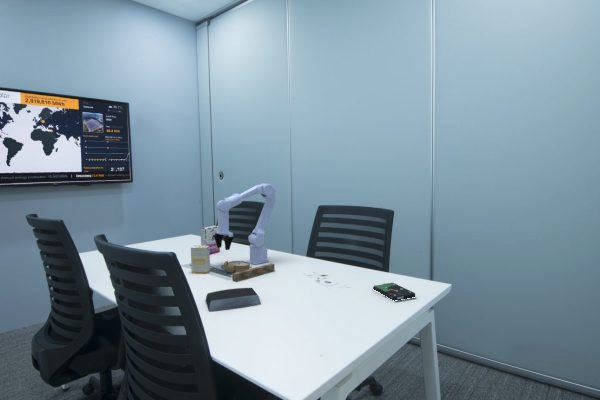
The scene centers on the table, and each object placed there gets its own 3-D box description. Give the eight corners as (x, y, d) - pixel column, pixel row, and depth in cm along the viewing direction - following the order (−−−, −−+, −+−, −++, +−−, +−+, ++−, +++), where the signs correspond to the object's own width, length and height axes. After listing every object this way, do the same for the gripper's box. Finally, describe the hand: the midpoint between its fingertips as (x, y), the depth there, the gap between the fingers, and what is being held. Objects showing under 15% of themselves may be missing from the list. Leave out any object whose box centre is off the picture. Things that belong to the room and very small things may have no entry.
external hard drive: (261, 306, 135) (261, 295, 135) (209, 313, 129) (208, 302, 128) (253, 295, 148) (253, 285, 147) (205, 301, 141) (204, 291, 140)
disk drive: (415, 300, 142) (392, 288, 155) (416, 293, 141) (392, 281, 155) (394, 303, 138) (372, 291, 151) (394, 296, 137) (372, 284, 151)
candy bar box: (214, 251, 227) (213, 225, 225) (220, 252, 224) (219, 226, 223) (200, 254, 217) (200, 227, 216) (206, 255, 215) (205, 228, 213)
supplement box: (210, 270, 182) (209, 245, 181) (207, 273, 177) (206, 247, 176) (194, 270, 183) (194, 245, 182) (191, 273, 178) (190, 247, 177)
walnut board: (271, 270, 182) (271, 263, 182) (274, 271, 181) (274, 264, 180) (232, 280, 165) (232, 273, 165) (235, 281, 163) (235, 274, 163)
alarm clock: (253, 265, 182) (225, 263, 174) (252, 274, 182) (224, 273, 174) (245, 260, 192) (218, 259, 184) (244, 269, 192) (217, 268, 184)
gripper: (209, 222, 191) (209, 247, 192) (224, 225, 181) (225, 251, 182) (220, 221, 196) (220, 245, 197) (236, 224, 186) (236, 249, 187)
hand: (223, 248), depth 190 cm, fingers open, 7 cm apart
